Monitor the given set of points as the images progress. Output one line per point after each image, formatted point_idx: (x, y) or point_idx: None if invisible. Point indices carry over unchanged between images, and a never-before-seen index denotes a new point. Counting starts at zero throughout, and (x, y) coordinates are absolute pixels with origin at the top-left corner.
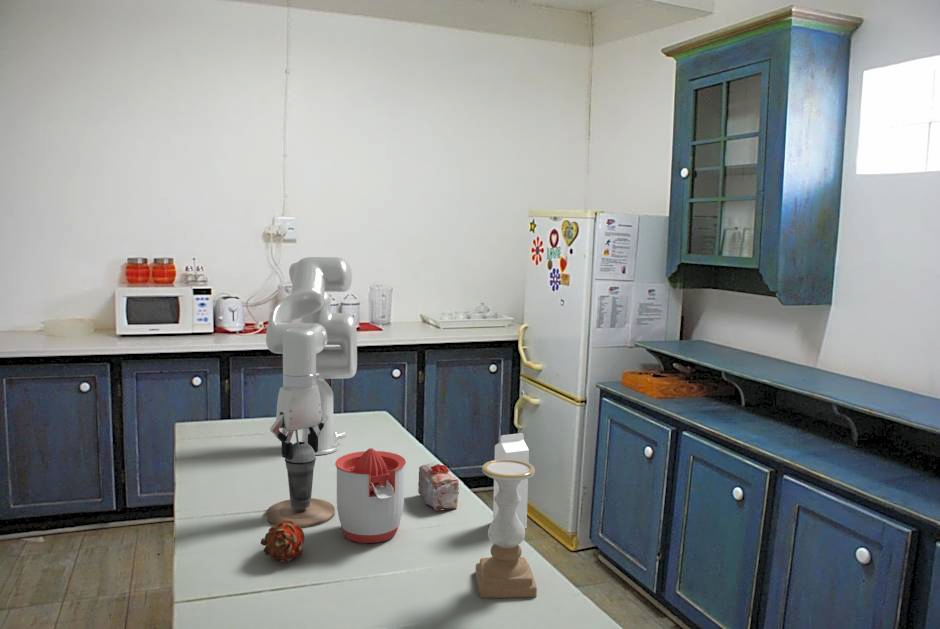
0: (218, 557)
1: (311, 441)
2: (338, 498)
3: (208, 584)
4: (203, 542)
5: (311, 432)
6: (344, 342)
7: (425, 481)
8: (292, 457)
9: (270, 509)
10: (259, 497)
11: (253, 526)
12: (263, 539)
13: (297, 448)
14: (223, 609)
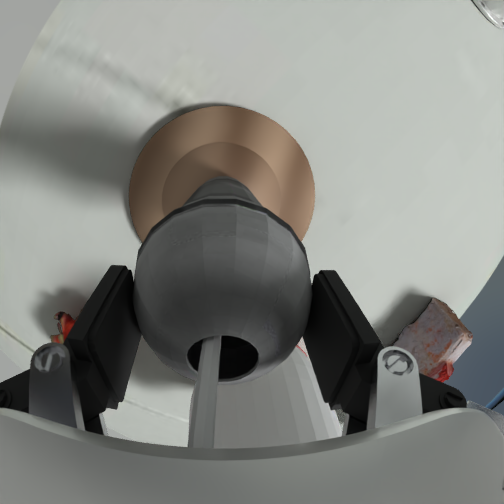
0: (15, 257)
1: (325, 348)
2: (191, 414)
3: (4, 310)
4: (9, 184)
5: (358, 393)
6: None
7: (422, 357)
8: (141, 334)
9: (166, 134)
10: (227, 18)
11: (96, 178)
12: (57, 318)
13: (172, 368)
14: (18, 356)
